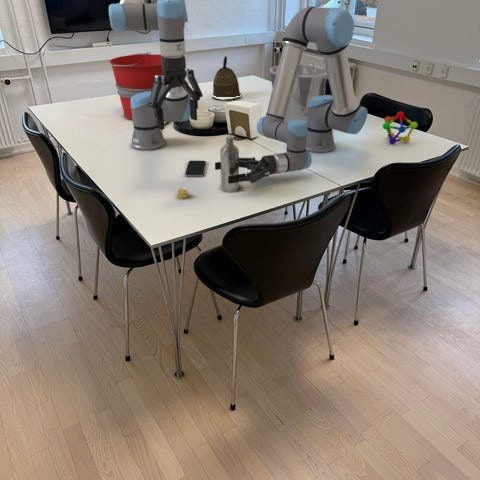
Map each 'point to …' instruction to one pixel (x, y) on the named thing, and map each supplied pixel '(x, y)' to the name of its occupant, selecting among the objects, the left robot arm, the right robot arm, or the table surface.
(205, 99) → the table surface
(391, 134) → the educational toy
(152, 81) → the bucket
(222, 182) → the bottle
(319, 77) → the bucket
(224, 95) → the bell
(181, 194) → the cap
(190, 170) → the smartphone
